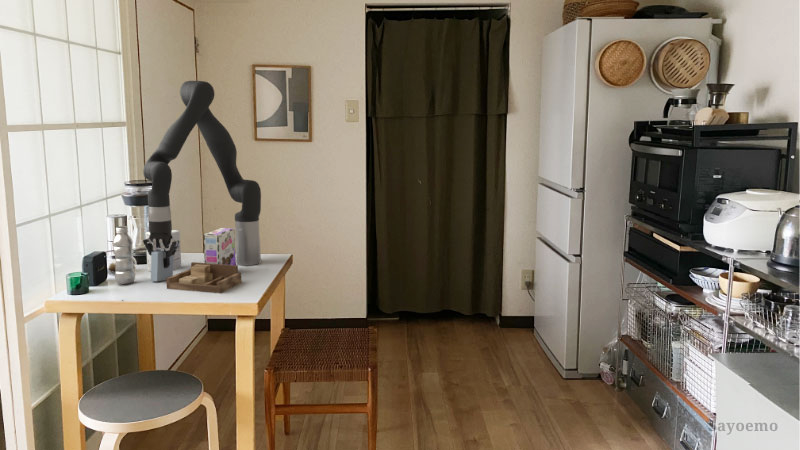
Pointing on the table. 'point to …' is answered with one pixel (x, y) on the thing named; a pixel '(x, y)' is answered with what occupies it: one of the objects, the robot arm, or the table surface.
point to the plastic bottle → (123, 256)
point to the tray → (221, 281)
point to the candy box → (220, 247)
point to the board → (160, 267)
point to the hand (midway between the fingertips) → (162, 267)
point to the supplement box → (177, 254)
